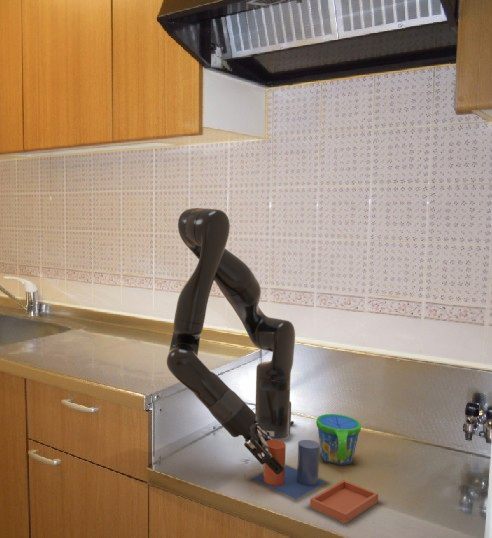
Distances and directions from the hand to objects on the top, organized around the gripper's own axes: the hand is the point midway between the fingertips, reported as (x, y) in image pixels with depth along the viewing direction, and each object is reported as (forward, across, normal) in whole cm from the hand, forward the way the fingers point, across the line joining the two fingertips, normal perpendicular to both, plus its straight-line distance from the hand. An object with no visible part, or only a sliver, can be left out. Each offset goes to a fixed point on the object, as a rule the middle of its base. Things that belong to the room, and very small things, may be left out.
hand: (280, 463), depth 132 cm
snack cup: (+14, +16, -7) cm, 22 cm away
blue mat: (+5, +1, +2) cm, 5 cm away
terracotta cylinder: (+2, 0, +4) cm, 5 cm away
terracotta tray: (+13, -7, -6) cm, 16 cm away
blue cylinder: (+8, +2, -1) cm, 8 cm away
